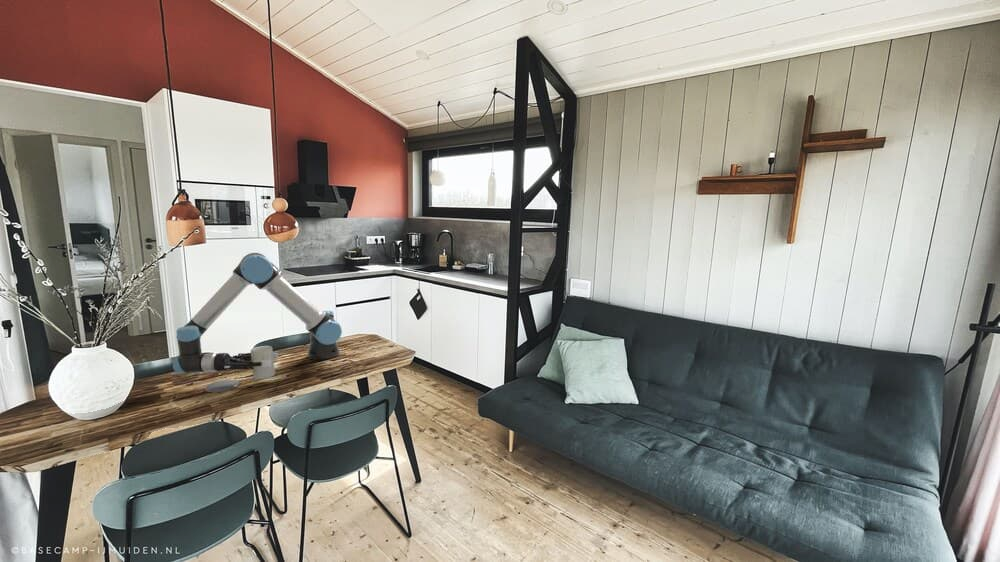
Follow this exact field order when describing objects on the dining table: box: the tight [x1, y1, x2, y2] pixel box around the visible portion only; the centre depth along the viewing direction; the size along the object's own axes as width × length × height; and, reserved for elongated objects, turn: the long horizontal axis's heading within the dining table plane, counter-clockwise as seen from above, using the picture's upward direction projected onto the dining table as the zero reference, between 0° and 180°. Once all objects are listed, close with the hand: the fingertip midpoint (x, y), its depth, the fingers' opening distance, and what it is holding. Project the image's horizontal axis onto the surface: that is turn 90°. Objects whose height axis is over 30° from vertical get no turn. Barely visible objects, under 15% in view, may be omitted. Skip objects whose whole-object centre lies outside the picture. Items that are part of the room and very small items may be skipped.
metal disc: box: [204, 379, 240, 394], centre depth 177 cm, size 12×12×1 cm
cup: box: [250, 345, 276, 380], centre depth 180 cm, size 8×8×12 cm
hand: (274, 359), depth 180 cm, fingers closed on cup, 8 cm apart
